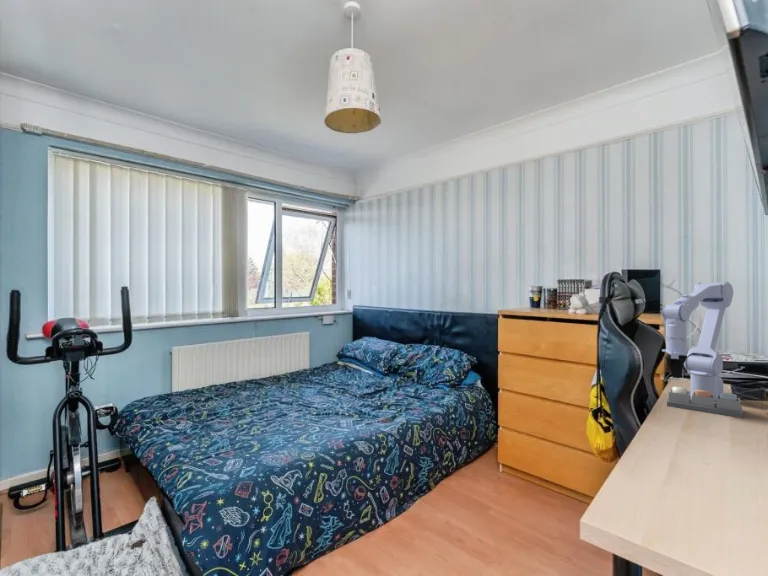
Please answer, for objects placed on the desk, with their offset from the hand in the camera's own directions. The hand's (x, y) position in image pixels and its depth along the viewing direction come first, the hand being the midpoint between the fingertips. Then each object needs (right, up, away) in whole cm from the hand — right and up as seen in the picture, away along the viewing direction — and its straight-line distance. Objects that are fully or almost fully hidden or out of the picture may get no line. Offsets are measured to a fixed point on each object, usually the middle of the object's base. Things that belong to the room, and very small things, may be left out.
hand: (676, 376), depth 130 cm
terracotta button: (+4, -6, -6) cm, 10 cm away
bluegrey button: (+9, -6, -10) cm, 15 cm away
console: (+4, -9, -6) cm, 12 cm away
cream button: (0, -7, -2) cm, 7 cm away
